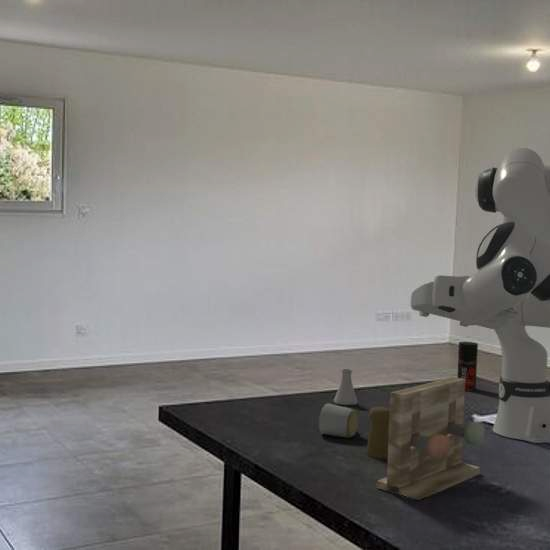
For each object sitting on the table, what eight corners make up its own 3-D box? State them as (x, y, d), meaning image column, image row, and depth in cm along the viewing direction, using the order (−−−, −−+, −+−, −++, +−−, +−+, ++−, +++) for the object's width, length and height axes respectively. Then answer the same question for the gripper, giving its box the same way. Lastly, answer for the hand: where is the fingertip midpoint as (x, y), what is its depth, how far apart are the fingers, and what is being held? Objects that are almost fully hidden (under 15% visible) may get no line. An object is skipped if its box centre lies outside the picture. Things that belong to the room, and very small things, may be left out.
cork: (364, 450, 188) (366, 404, 187) (390, 451, 188) (392, 405, 187) (366, 458, 182) (368, 410, 181) (393, 458, 182) (395, 411, 181)
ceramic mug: (348, 441, 195) (350, 410, 194) (317, 436, 198) (319, 406, 198) (363, 432, 204) (364, 402, 204) (333, 427, 208) (334, 398, 207)
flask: (334, 399, 240) (335, 366, 239) (358, 401, 239) (359, 368, 238) (332, 405, 232) (333, 371, 232) (357, 406, 231) (358, 372, 231)
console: (479, 474, 172) (484, 382, 171) (418, 500, 155) (422, 399, 153) (439, 463, 179) (443, 375, 178) (376, 487, 162) (379, 390, 160)
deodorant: (475, 387, 262) (477, 342, 261) (475, 391, 256) (477, 345, 255) (457, 386, 263) (459, 341, 262) (456, 390, 257) (458, 344, 256)
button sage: (484, 443, 168) (485, 421, 168) (473, 447, 165) (474, 425, 165) (454, 436, 173) (455, 415, 173) (443, 440, 170) (444, 419, 169)
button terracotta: (449, 456, 158) (450, 434, 158) (437, 461, 155) (438, 438, 154) (418, 448, 163) (419, 426, 163) (406, 453, 160) (407, 430, 159)
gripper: (522, 296, 161) (487, 314, 174) (430, 272, 157) (400, 293, 169) (521, 326, 159) (485, 342, 172) (428, 302, 155) (398, 321, 167)
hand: (442, 317), depth 170 cm, fingers open, 8 cm apart
